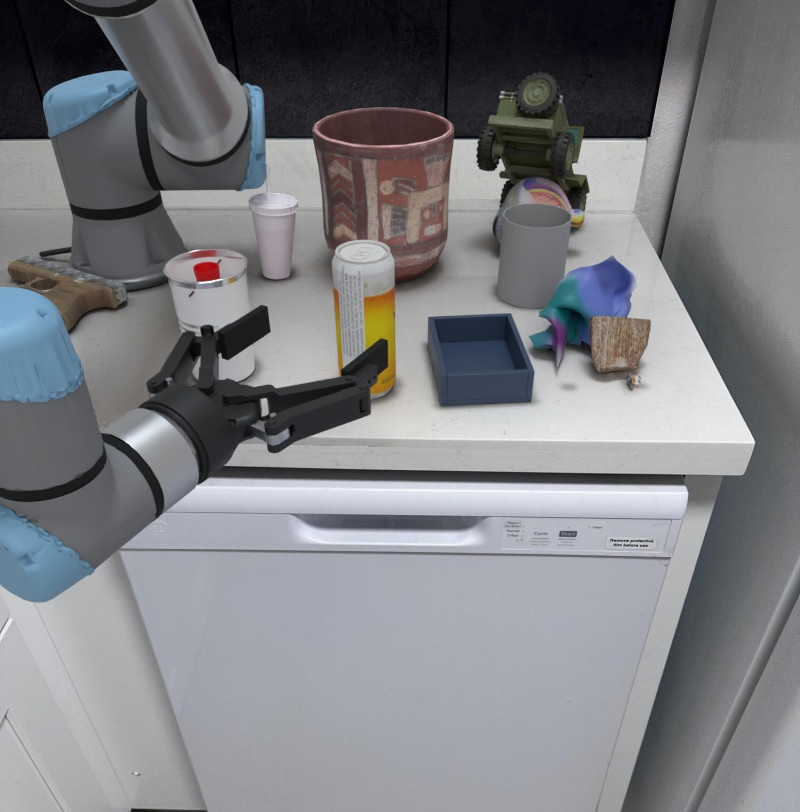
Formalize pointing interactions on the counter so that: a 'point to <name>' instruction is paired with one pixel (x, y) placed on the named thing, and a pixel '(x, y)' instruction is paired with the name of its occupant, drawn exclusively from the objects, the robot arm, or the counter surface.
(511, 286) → the cup
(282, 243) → the smoothie
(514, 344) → the bin
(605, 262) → the figurine
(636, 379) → the figurine
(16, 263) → the handgun
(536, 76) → the toy jeep
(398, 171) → the pottery
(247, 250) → the counter surface
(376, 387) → the beer can
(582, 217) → the anatomical model
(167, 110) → the robot arm
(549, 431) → the counter surface
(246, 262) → the white ridged cylinder
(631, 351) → the stone
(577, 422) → the counter surface
